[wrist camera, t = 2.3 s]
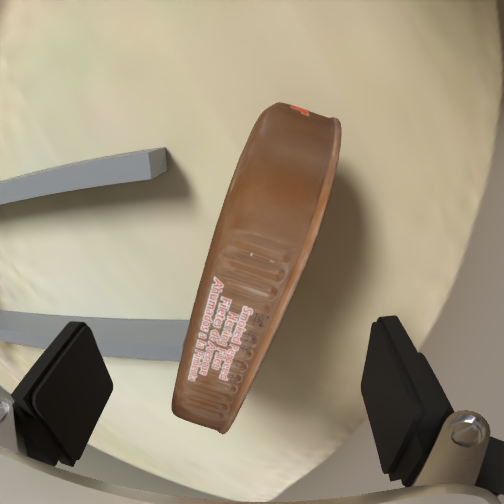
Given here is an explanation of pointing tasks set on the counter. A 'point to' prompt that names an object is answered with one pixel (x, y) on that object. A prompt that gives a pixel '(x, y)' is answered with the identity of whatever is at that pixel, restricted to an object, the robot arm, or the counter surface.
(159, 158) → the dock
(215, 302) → the tin
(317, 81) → the counter surface
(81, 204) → the counter surface
